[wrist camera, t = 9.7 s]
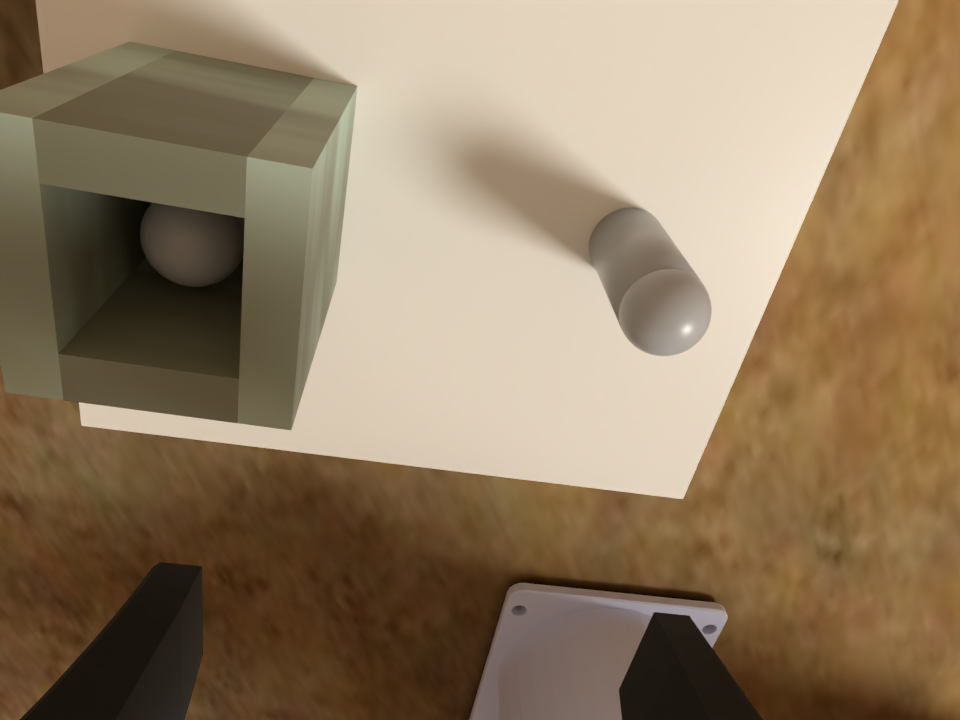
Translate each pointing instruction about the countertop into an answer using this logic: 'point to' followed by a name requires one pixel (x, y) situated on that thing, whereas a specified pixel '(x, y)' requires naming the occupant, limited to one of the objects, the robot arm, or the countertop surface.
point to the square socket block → (176, 182)
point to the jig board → (524, 215)
